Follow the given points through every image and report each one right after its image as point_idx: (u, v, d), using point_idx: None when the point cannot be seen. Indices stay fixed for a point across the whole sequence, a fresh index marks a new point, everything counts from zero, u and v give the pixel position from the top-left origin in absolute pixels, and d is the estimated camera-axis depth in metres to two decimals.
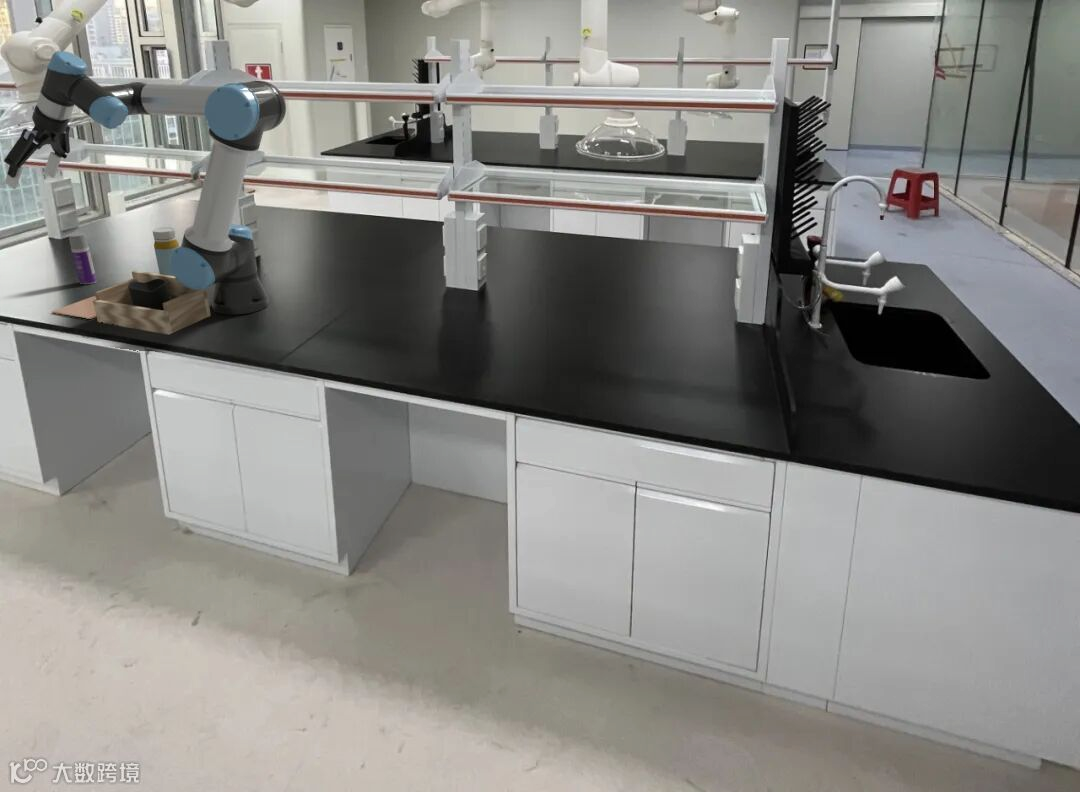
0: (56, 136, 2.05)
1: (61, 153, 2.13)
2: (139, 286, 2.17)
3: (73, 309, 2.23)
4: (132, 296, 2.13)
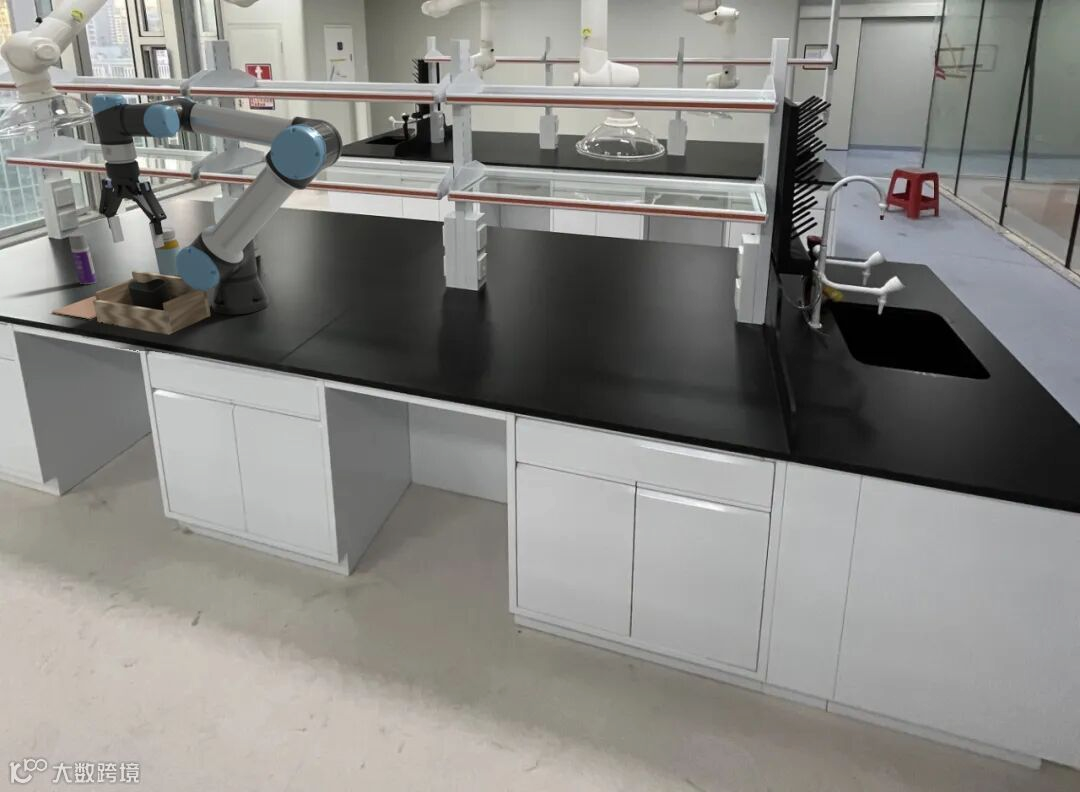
0: None
1: None
2: (139, 286, 2.17)
3: (73, 309, 2.23)
4: (132, 296, 2.13)
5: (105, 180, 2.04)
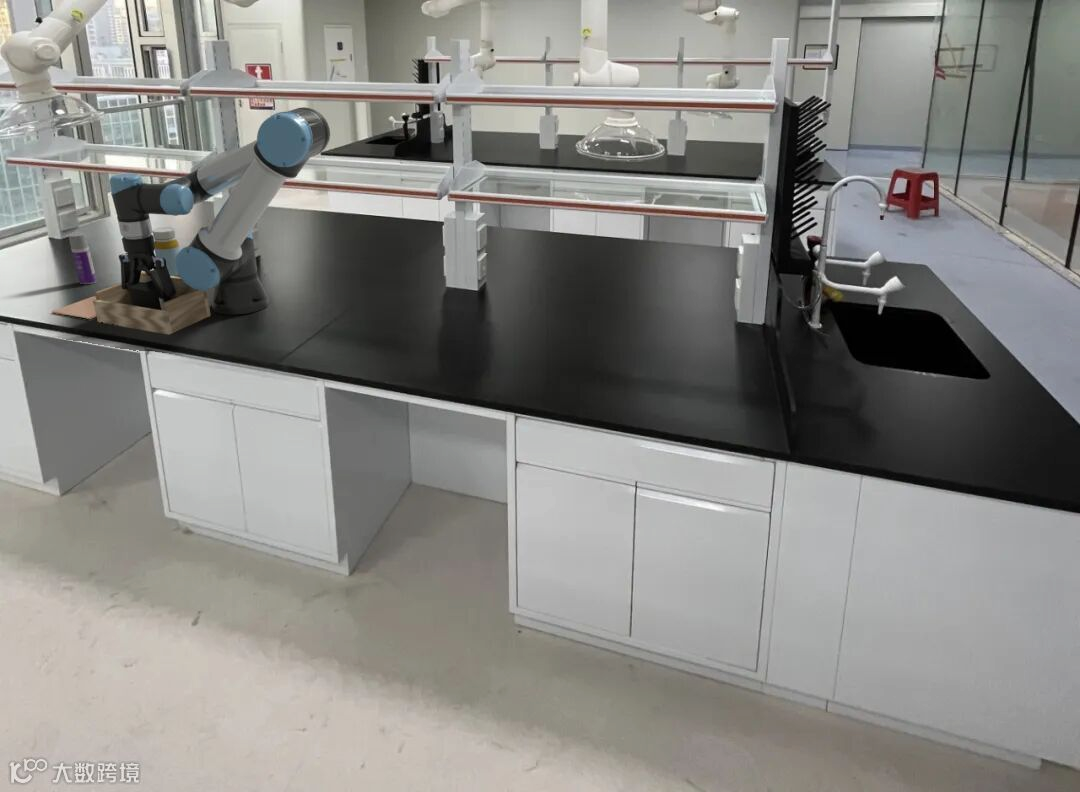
0: None
1: None
2: (139, 286, 2.17)
3: (73, 309, 2.23)
4: (132, 296, 2.13)
5: (122, 255, 2.13)
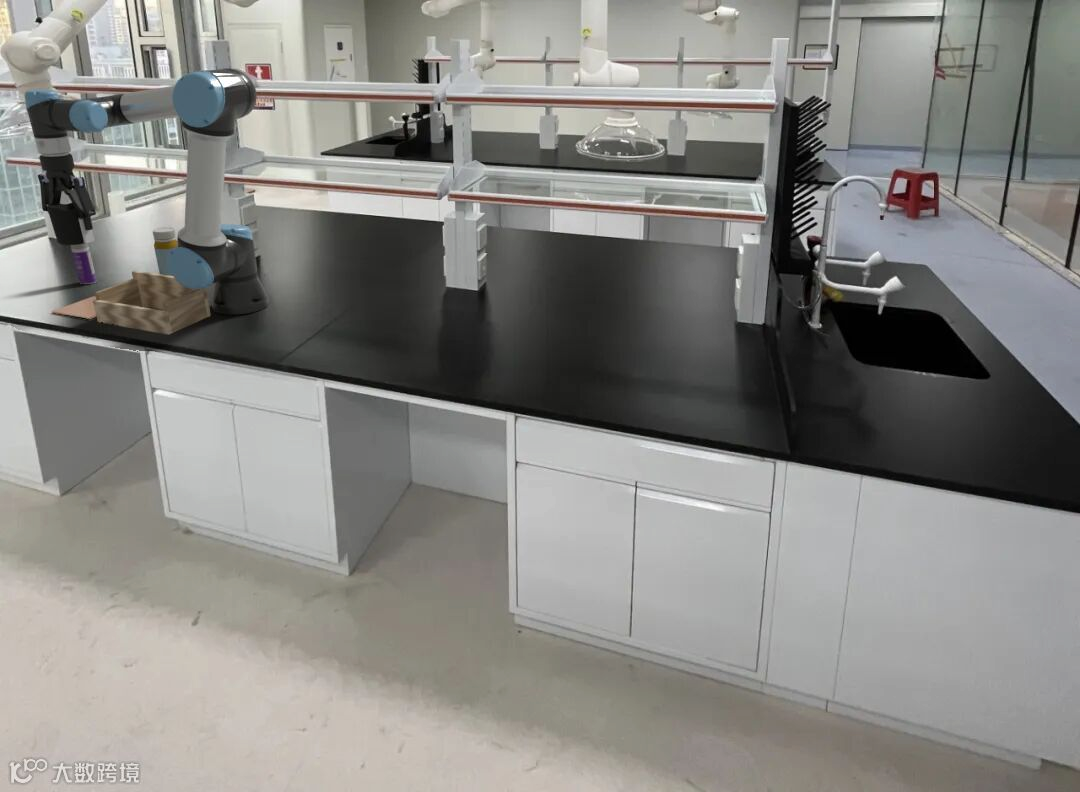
0: None
1: None
2: (59, 207, 2.15)
3: (73, 309, 2.23)
4: (51, 216, 2.11)
5: (41, 175, 2.11)
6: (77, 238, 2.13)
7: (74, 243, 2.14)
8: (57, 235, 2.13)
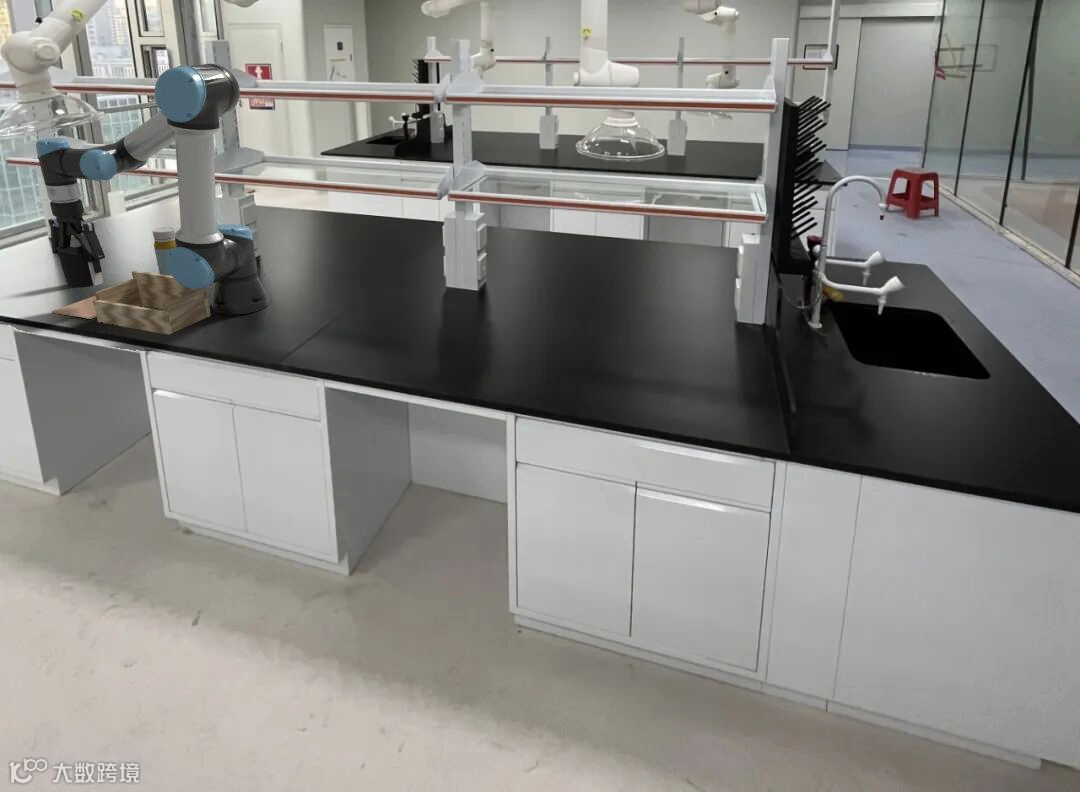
0: None
1: None
2: (69, 250, 2.21)
3: (73, 309, 2.23)
4: (61, 259, 2.16)
5: (51, 220, 2.16)
6: (86, 281, 2.19)
7: (83, 285, 2.19)
8: (67, 278, 2.18)
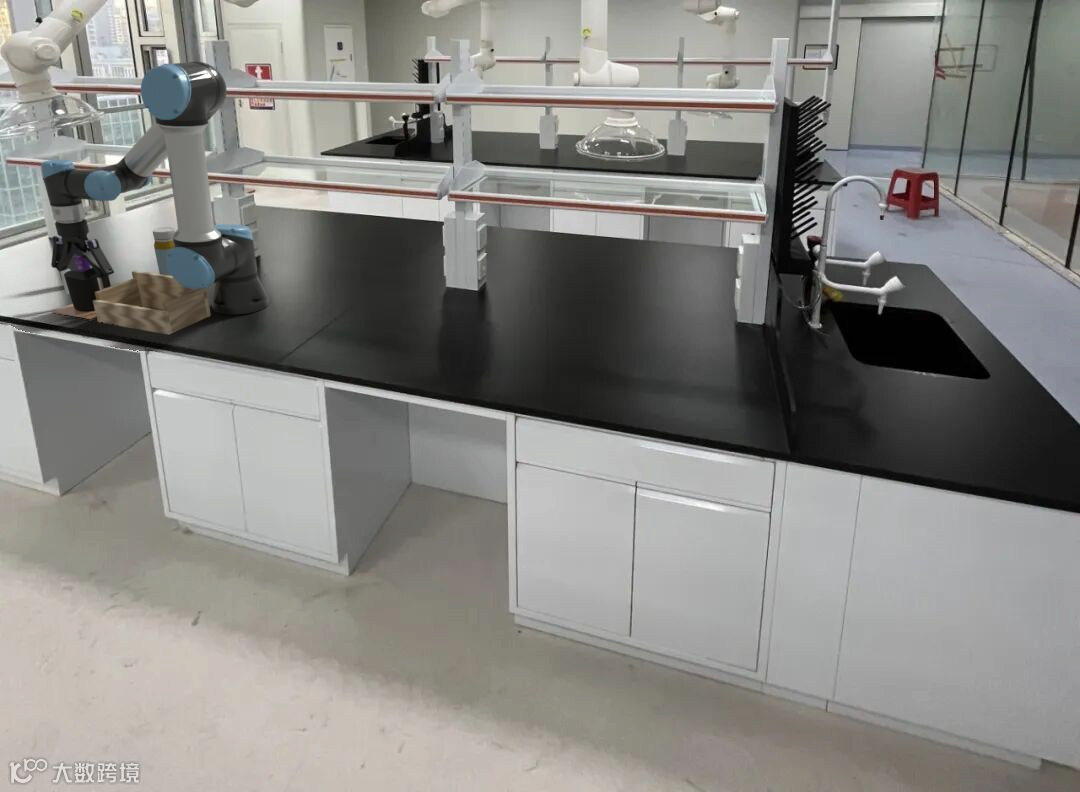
0: None
1: None
2: (76, 274, 2.23)
3: (73, 309, 2.23)
4: (68, 284, 2.19)
5: (56, 237, 2.18)
6: (93, 304, 2.22)
7: (90, 309, 2.22)
8: (74, 302, 2.21)
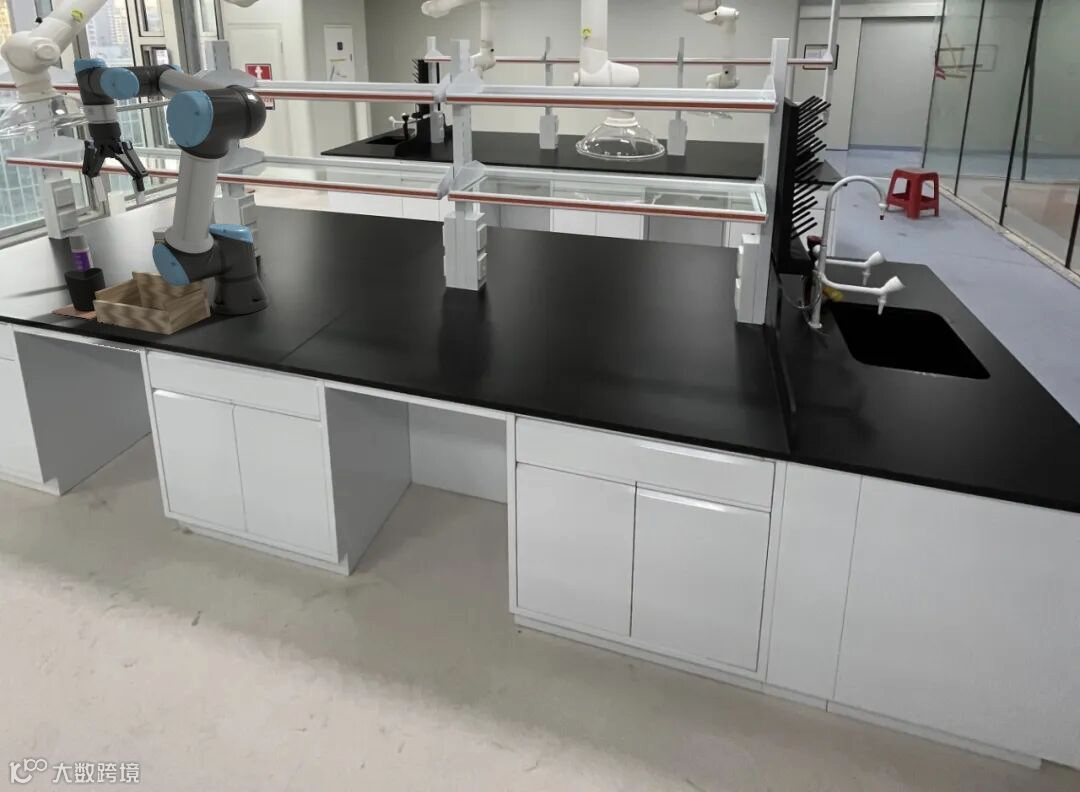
0: None
1: None
2: (76, 274, 2.24)
3: (73, 309, 2.23)
4: (68, 284, 2.19)
5: (88, 141, 2.16)
6: (93, 304, 2.22)
7: (90, 309, 2.22)
8: (74, 302, 2.21)
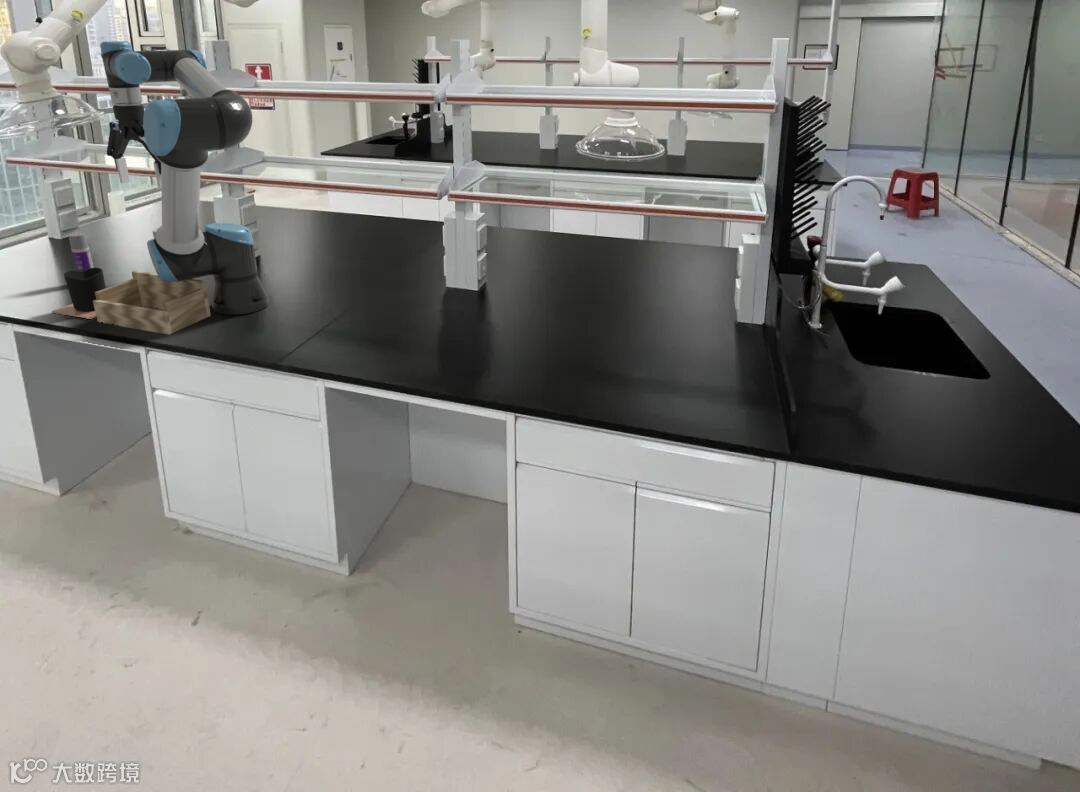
0: None
1: None
2: (76, 274, 2.24)
3: (73, 309, 2.23)
4: (68, 284, 2.19)
5: (113, 123, 2.19)
6: (93, 304, 2.22)
7: (90, 309, 2.22)
8: (74, 302, 2.21)
